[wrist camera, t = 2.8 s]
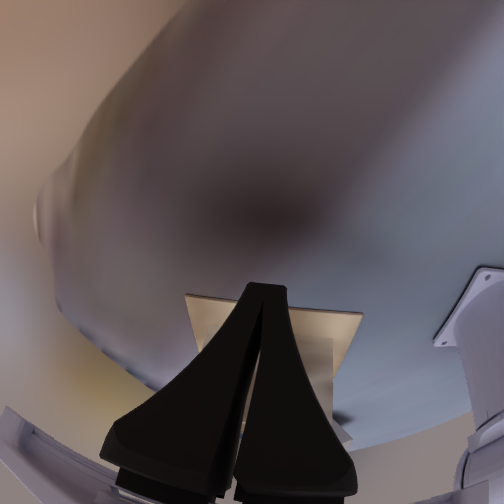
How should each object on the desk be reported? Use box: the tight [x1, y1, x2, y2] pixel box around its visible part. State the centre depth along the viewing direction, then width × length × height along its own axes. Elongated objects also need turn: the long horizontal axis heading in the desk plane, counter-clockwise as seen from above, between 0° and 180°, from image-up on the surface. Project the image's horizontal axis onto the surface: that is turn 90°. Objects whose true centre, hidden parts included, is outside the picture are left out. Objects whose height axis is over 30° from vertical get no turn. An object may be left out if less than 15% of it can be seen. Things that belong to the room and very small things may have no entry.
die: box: [332, 418, 353, 452], centre depth 28 cm, size 8×9×10 cm
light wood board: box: [185, 294, 363, 379], centre depth 23 cm, size 12×16×1 cm
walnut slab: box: [201, 325, 333, 432], centre depth 18 cm, size 9×2×7 cm, turn 90°
